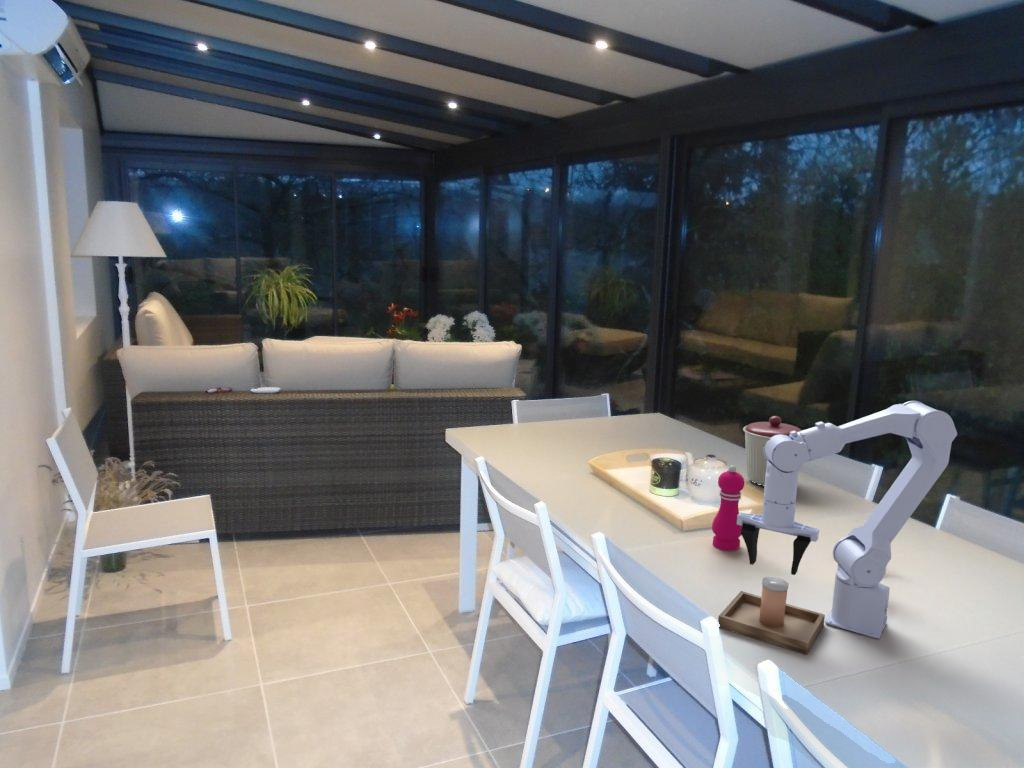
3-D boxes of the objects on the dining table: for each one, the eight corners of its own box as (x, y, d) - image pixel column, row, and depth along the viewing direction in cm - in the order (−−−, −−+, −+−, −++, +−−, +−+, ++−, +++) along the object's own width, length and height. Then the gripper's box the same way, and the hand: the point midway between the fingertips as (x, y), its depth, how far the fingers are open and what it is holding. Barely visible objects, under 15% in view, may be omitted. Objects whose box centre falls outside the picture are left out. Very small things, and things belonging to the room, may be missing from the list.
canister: (730, 484, 224) (736, 416, 220) (749, 470, 239) (754, 407, 235) (792, 496, 214) (799, 426, 210) (807, 481, 229) (814, 415, 225)
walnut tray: (823, 625, 140) (824, 614, 139) (806, 654, 129) (807, 643, 129) (740, 601, 149) (740, 590, 148) (717, 626, 138) (718, 616, 138)
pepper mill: (747, 545, 177) (754, 465, 173) (733, 554, 172) (739, 471, 168) (719, 537, 182) (725, 459, 178) (705, 545, 177) (711, 465, 173)
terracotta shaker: (783, 617, 141) (787, 578, 139) (785, 629, 136) (789, 589, 135) (758, 614, 142) (761, 575, 140) (759, 625, 137) (763, 585, 136)
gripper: (825, 501, 137) (817, 570, 139) (746, 486, 145) (741, 551, 147) (817, 512, 131) (809, 583, 134) (735, 496, 139) (730, 563, 141)
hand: (773, 567), depth 140 cm, fingers open, 7 cm apart
